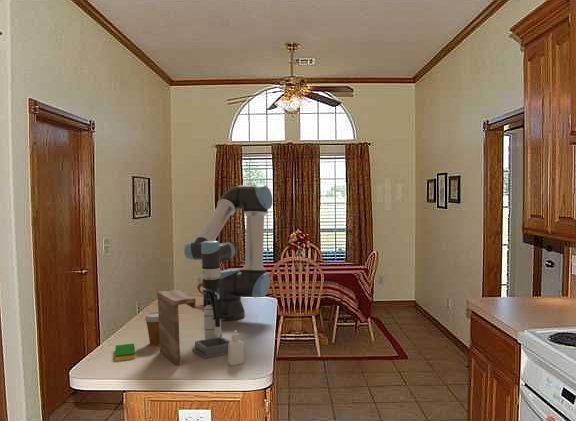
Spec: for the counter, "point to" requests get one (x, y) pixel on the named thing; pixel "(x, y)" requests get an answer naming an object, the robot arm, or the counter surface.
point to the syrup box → (210, 323)
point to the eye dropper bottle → (235, 350)
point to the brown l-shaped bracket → (171, 322)
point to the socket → (211, 347)
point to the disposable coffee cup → (153, 327)
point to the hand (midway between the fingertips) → (213, 331)
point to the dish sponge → (125, 352)
